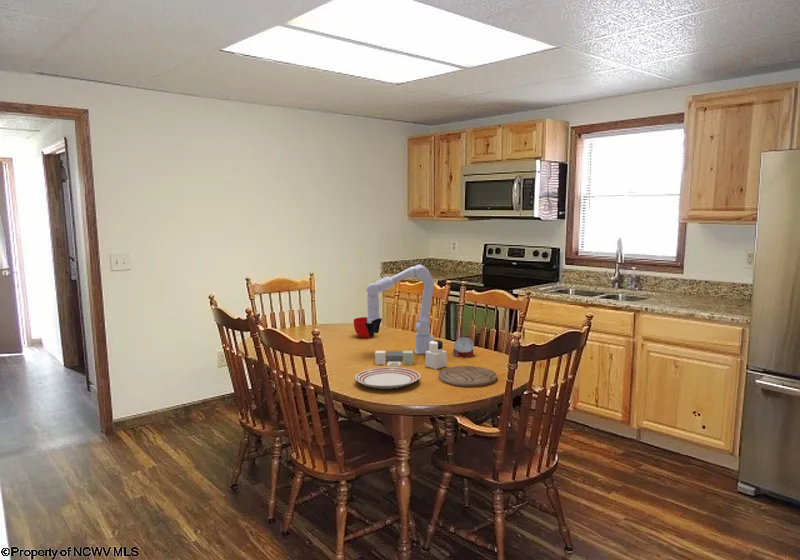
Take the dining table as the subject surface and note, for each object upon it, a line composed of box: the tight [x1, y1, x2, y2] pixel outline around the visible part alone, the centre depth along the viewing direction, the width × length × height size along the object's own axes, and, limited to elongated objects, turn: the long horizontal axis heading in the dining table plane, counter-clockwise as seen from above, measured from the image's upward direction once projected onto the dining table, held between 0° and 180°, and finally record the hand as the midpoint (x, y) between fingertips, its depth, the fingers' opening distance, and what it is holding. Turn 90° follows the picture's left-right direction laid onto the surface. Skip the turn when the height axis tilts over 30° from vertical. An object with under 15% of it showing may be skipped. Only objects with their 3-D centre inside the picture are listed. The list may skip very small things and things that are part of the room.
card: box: [387, 361, 402, 367], centre depth 259 cm, size 6×6×1 cm
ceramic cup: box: [353, 316, 372, 339], centre depth 315 cm, size 13×17×10 cm
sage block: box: [402, 350, 414, 366], centre depth 260 cm, size 5×5×6 cm
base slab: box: [386, 350, 404, 362], centre depth 268 cm, size 8×8×3 cm
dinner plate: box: [354, 366, 421, 390], centre depth 232 cm, size 27×27×3 cm
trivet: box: [437, 365, 498, 388], centre depth 237 cm, size 25×25×2 cm
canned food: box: [452, 336, 475, 359], centre depth 273 cm, size 11×10×10 cm
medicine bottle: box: [424, 339, 448, 370], centre depth 254 cm, size 7×7×12 cm
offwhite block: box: [374, 350, 387, 366], centre depth 260 cm, size 5×5×6 cm
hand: (373, 334), depth 276 cm, fingers open, 7 cm apart
